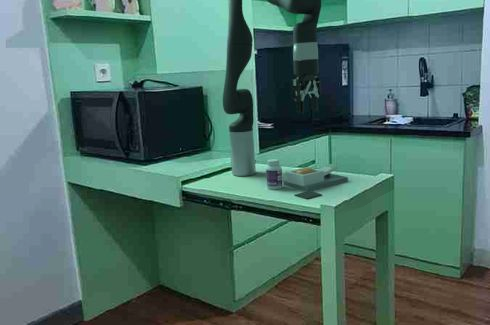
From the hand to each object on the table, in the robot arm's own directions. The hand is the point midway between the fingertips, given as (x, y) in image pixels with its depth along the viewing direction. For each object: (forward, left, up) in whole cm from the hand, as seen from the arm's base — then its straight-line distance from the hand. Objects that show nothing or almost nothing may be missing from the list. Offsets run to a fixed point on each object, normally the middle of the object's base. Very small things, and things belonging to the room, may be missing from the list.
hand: (307, 111), depth 140 cm
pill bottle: (-13, -5, -26) cm, 30 cm away
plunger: (-7, +4, -23) cm, 24 cm away
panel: (-7, +8, -26) cm, 28 cm away
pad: (+3, -4, -26) cm, 26 cm away
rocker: (-7, +13, -22) cm, 27 cm away
